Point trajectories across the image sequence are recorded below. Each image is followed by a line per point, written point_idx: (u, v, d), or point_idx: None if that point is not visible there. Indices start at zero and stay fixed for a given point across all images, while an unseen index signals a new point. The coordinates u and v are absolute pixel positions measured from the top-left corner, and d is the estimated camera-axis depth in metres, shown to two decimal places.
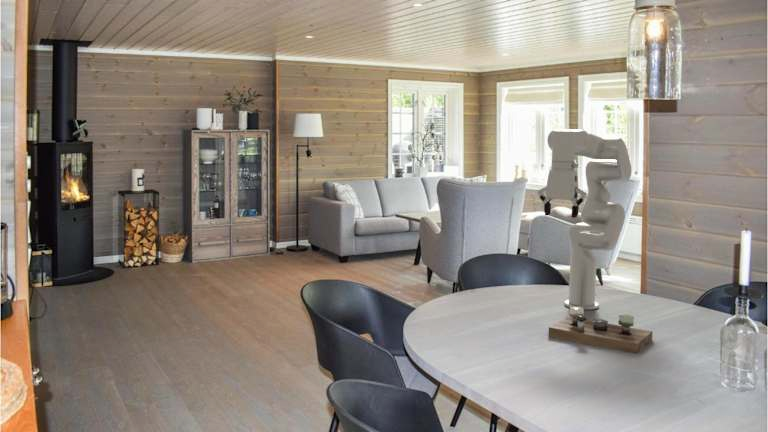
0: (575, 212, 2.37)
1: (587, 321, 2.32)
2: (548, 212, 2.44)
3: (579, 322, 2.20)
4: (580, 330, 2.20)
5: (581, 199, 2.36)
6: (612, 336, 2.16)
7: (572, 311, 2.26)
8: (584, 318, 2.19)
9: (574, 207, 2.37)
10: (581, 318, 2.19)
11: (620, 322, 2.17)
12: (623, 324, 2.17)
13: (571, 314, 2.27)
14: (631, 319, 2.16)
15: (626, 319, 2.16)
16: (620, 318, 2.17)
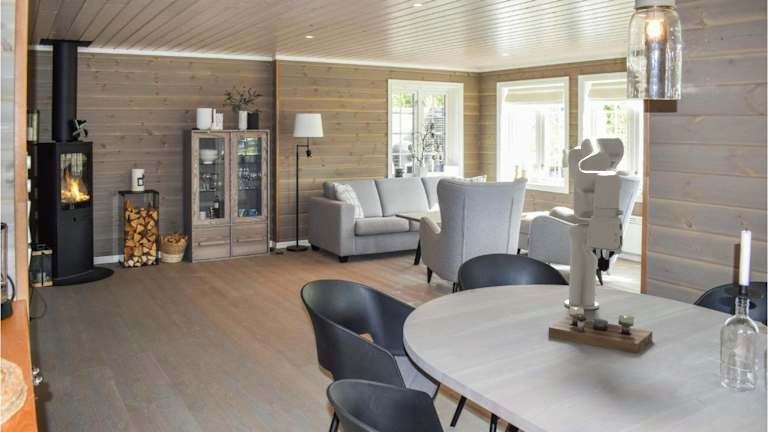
0: (606, 266, 2.19)
1: (587, 321, 2.32)
2: None
3: (579, 322, 2.20)
4: (580, 330, 2.20)
5: (613, 252, 2.18)
6: (612, 336, 2.16)
7: (572, 311, 2.26)
8: (584, 318, 2.19)
9: (605, 260, 2.19)
10: (581, 318, 2.19)
11: (620, 322, 2.17)
12: (623, 324, 2.17)
13: (571, 314, 2.27)
14: (631, 319, 2.16)
15: (626, 319, 2.16)
16: (620, 318, 2.17)
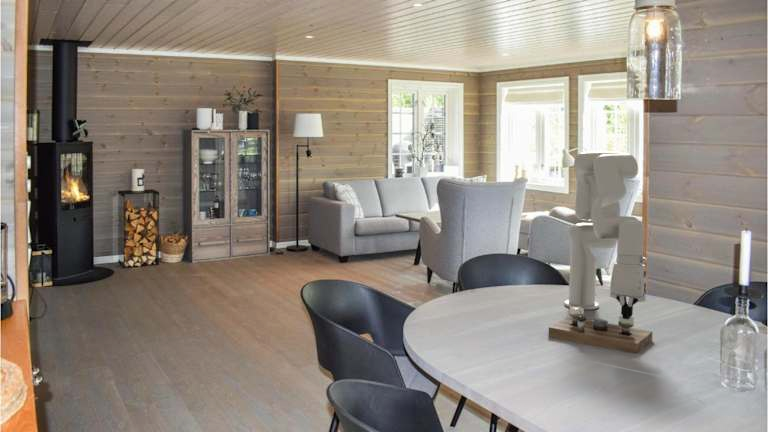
0: (629, 313, 2.16)
1: (587, 321, 2.32)
2: None
3: (579, 322, 2.20)
4: (580, 330, 2.20)
5: (636, 299, 2.15)
6: (612, 336, 2.16)
7: (572, 311, 2.26)
8: (584, 318, 2.19)
9: (628, 308, 2.16)
10: (581, 318, 2.19)
11: (620, 323, 2.17)
12: (623, 325, 2.17)
13: (571, 314, 2.27)
14: (631, 320, 2.16)
15: (626, 320, 2.16)
16: (620, 319, 2.18)
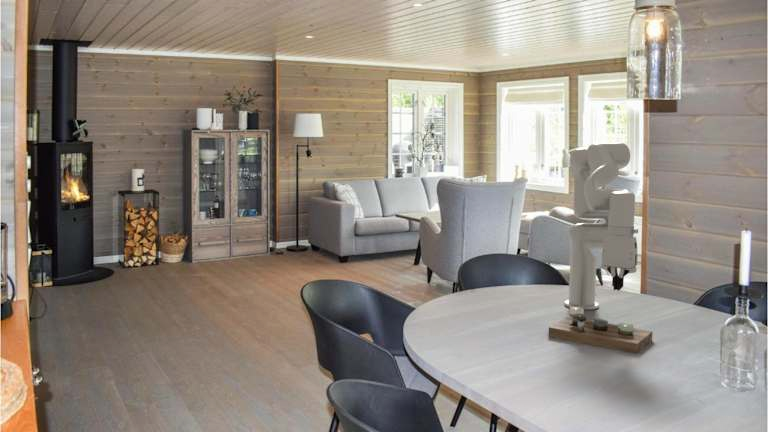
0: (620, 284, 2.17)
1: (587, 321, 2.32)
2: None
3: (579, 322, 2.20)
4: (580, 330, 2.20)
5: (627, 271, 2.16)
6: (612, 336, 2.16)
7: (572, 311, 2.26)
8: (584, 318, 2.19)
9: (619, 279, 2.17)
10: (581, 318, 2.19)
11: (620, 330, 2.18)
12: (623, 333, 2.17)
13: (571, 314, 2.27)
14: (631, 328, 2.17)
15: (626, 328, 2.16)
16: (620, 327, 2.18)
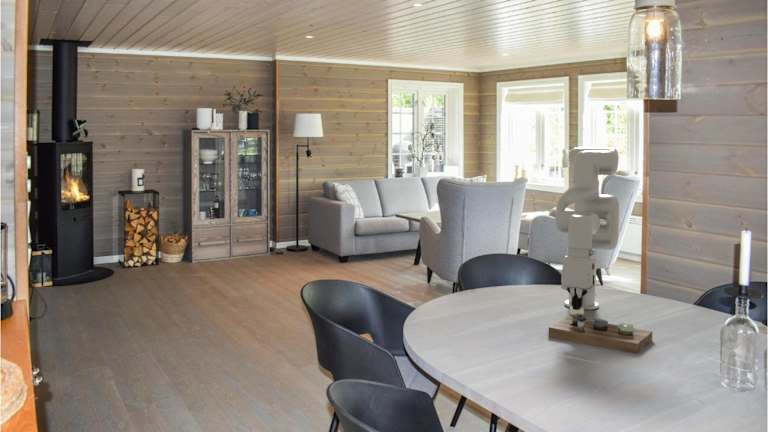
0: (579, 304, 2.26)
1: (587, 321, 2.32)
2: None
3: (579, 322, 2.20)
4: (580, 330, 2.20)
5: (585, 291, 2.24)
6: (612, 336, 2.16)
7: (572, 311, 2.26)
8: (584, 318, 2.19)
9: (578, 299, 2.25)
10: (581, 318, 2.19)
11: (620, 330, 2.18)
12: (623, 333, 2.17)
13: (571, 314, 2.27)
14: (631, 328, 2.17)
15: (626, 328, 2.16)
16: (620, 327, 2.18)
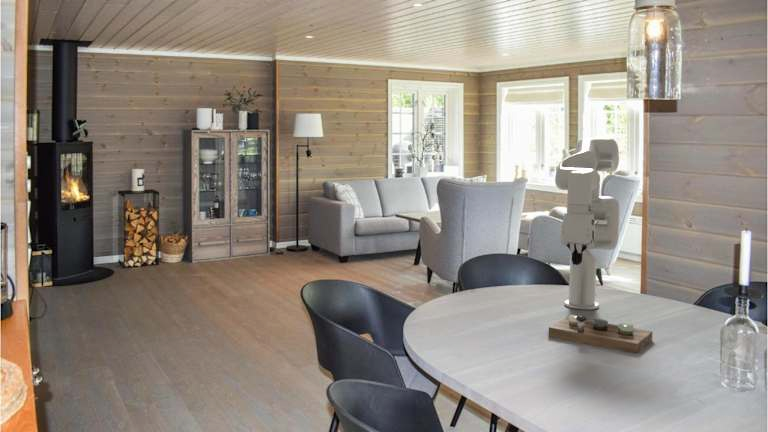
0: (579, 259, 2.29)
1: (587, 321, 2.32)
2: None
3: (579, 322, 2.20)
4: (580, 330, 2.20)
5: (585, 246, 2.27)
6: (612, 336, 2.16)
7: (572, 319, 2.27)
8: (584, 318, 2.19)
9: (578, 254, 2.29)
10: (581, 318, 2.19)
11: (620, 330, 2.18)
12: (623, 333, 2.17)
13: (571, 322, 2.27)
14: (631, 328, 2.17)
15: (626, 328, 2.16)
16: (620, 327, 2.18)
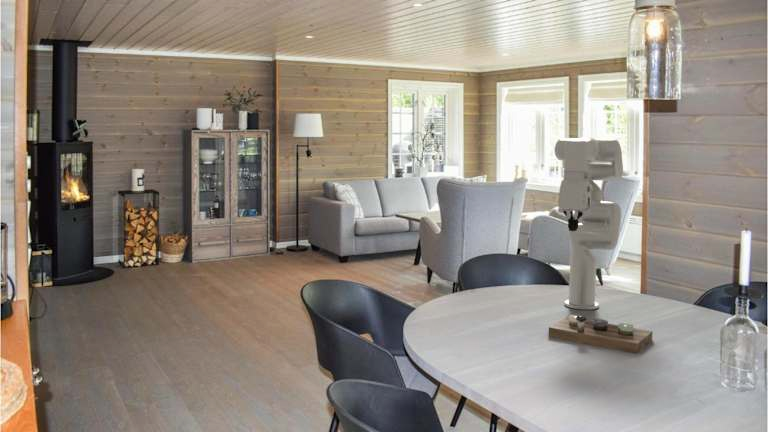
0: (575, 225, 2.37)
1: (587, 321, 2.32)
2: None
3: (579, 322, 2.20)
4: (580, 330, 2.20)
5: (581, 213, 2.35)
6: (612, 336, 2.16)
7: (572, 319, 2.27)
8: (584, 318, 2.19)
9: (574, 220, 2.36)
10: (581, 318, 2.19)
11: (620, 330, 2.18)
12: (623, 333, 2.17)
13: (571, 322, 2.27)
14: (631, 328, 2.17)
15: (626, 328, 2.16)
16: (620, 327, 2.18)
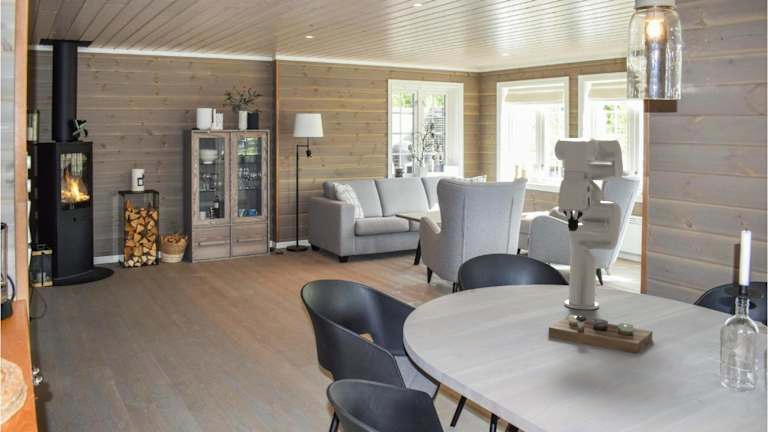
0: (575, 225, 2.37)
1: (587, 321, 2.32)
2: None
3: (579, 322, 2.20)
4: (580, 330, 2.20)
5: (581, 213, 2.35)
6: (612, 336, 2.16)
7: (572, 319, 2.27)
8: (584, 318, 2.19)
9: (574, 220, 2.36)
10: (581, 318, 2.19)
11: (620, 330, 2.18)
12: (623, 333, 2.17)
13: (571, 322, 2.27)
14: (631, 328, 2.17)
15: (626, 328, 2.16)
16: (620, 327, 2.18)
